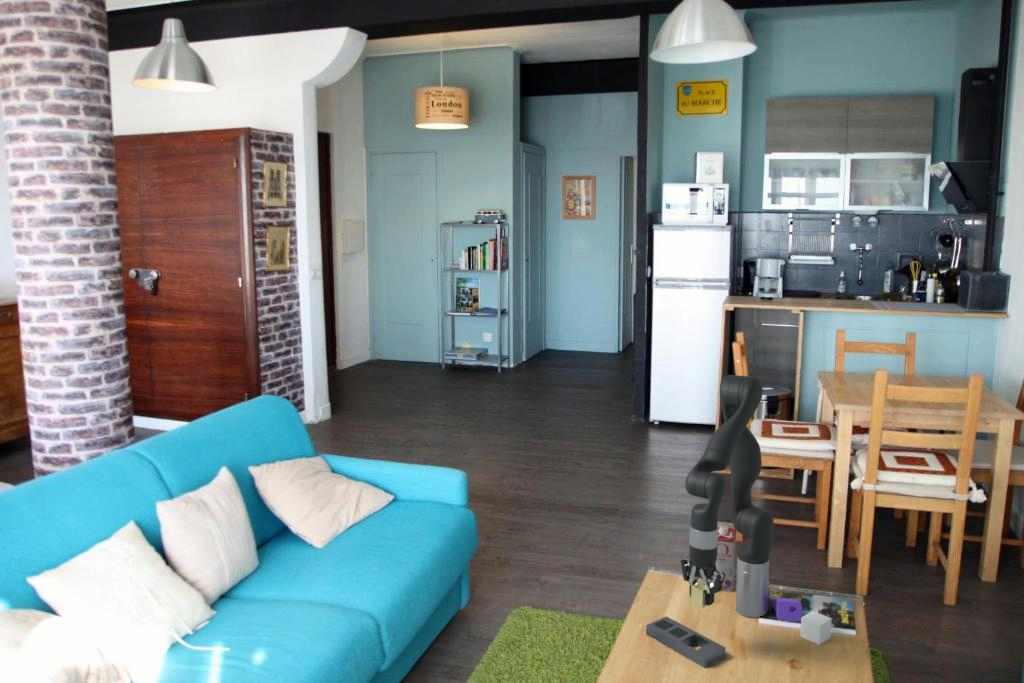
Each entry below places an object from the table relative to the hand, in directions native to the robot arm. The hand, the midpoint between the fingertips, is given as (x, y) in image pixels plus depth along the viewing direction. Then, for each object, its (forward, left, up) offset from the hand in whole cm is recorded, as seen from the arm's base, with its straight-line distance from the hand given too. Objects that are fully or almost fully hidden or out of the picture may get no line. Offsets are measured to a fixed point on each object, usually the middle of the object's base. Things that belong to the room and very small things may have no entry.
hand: (701, 600), depth 234 cm
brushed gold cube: (0, 0, -1) cm, 1 cm away
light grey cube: (-32, +15, -16) cm, 39 cm away
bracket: (-38, +1, -16) cm, 41 cm away
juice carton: (-36, -22, -16) cm, 46 cm away
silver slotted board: (+1, -5, -16) cm, 17 cm away
